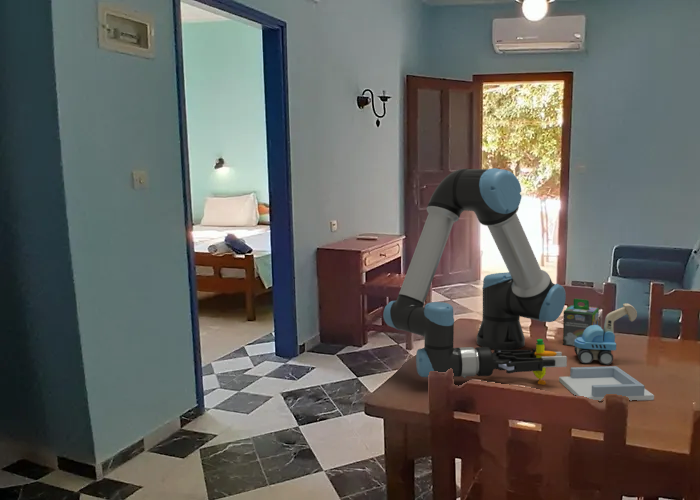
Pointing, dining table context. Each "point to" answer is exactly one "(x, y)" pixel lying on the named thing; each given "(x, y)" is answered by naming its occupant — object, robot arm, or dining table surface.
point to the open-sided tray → (604, 383)
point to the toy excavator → (601, 338)
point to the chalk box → (578, 320)
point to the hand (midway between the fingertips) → (563, 359)
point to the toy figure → (539, 354)
